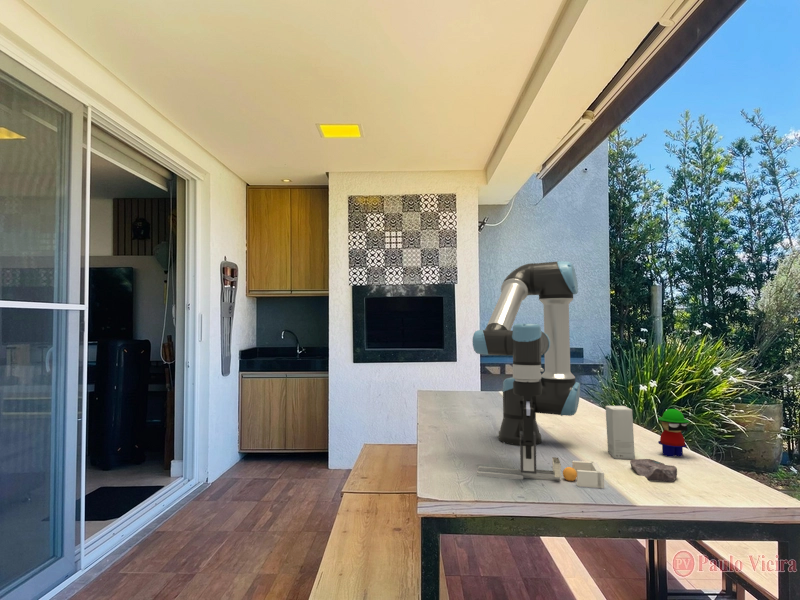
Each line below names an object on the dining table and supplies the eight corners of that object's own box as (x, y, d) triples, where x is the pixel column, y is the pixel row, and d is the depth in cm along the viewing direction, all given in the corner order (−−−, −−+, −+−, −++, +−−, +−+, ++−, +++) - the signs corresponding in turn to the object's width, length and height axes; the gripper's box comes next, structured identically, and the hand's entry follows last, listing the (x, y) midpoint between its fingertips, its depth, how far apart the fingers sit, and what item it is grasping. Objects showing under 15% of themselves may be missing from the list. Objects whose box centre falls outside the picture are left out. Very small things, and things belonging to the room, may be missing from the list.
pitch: (468, 485, 119) (468, 476, 119) (472, 469, 132) (472, 461, 132) (608, 497, 111) (608, 487, 111) (597, 478, 124) (597, 470, 125)
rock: (683, 484, 120) (683, 467, 120) (636, 481, 123) (636, 464, 123) (672, 475, 128) (672, 458, 128) (628, 472, 131) (628, 456, 131)
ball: (580, 469, 119) (578, 482, 119) (569, 464, 122) (567, 477, 122) (572, 470, 117) (570, 483, 117) (561, 465, 120) (559, 478, 120)
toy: (686, 453, 150) (684, 407, 150) (694, 460, 141) (693, 412, 142) (655, 451, 152) (654, 405, 153) (662, 458, 144) (660, 410, 145)
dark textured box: (520, 479, 120) (520, 435, 120) (520, 472, 125) (519, 430, 126) (561, 482, 117) (560, 437, 118) (558, 475, 123) (557, 432, 124)
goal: (577, 487, 115) (577, 471, 115) (572, 475, 124) (572, 460, 124) (604, 489, 113) (604, 473, 113) (597, 477, 122) (596, 462, 123)
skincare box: (635, 460, 142) (633, 409, 143) (612, 459, 143) (611, 408, 144) (627, 453, 150) (626, 405, 151) (606, 451, 151) (604, 404, 152)
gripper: (543, 384, 114) (545, 479, 113) (539, 377, 131) (541, 459, 129) (512, 383, 116) (513, 476, 115) (513, 376, 133) (513, 457, 131)
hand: (528, 467), depth 122 cm, fingers closed on dark textured box, 4 cm apart
